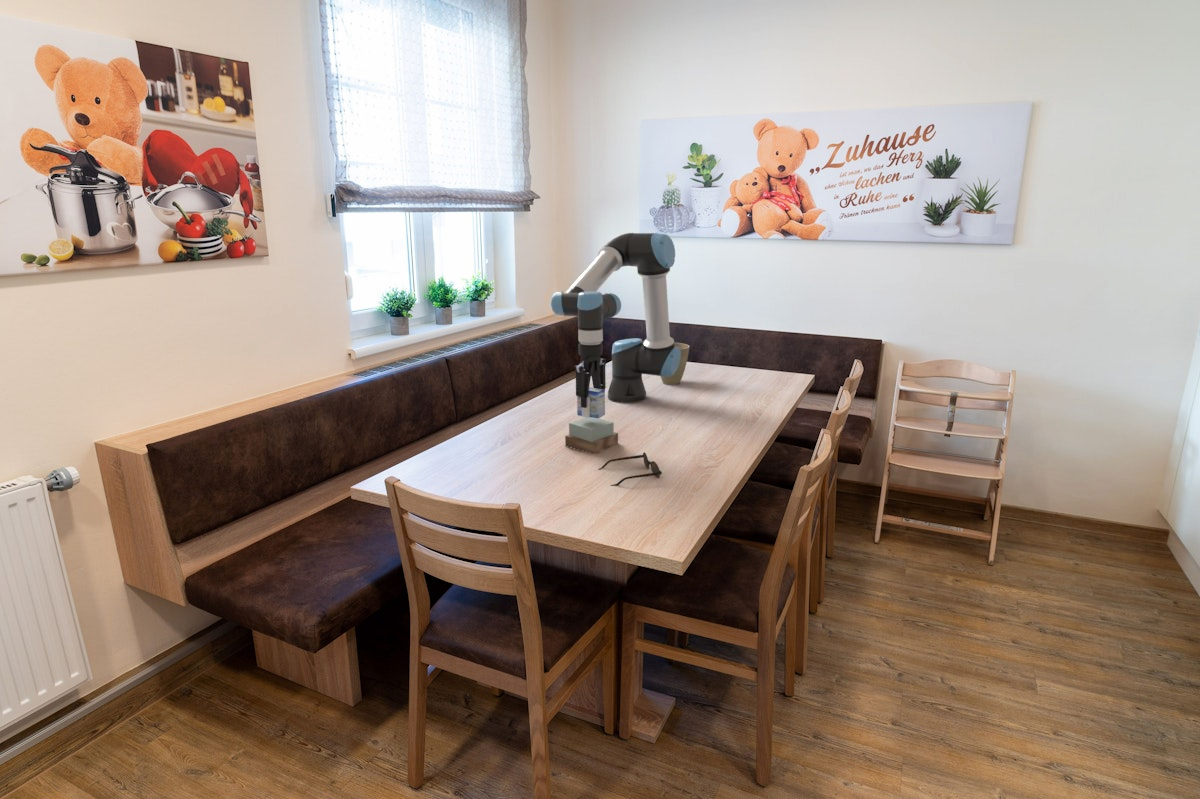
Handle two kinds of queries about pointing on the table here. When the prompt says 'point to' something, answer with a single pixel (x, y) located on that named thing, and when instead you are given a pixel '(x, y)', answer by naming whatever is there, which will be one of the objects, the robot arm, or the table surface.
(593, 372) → the robot arm
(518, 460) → the table surface
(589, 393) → the medicine box
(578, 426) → the sage slab
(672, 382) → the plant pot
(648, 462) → the eyeglasses
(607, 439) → the walnut slab
